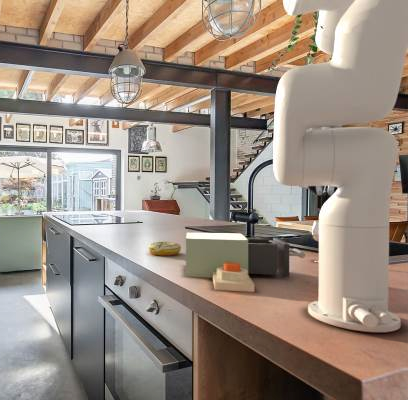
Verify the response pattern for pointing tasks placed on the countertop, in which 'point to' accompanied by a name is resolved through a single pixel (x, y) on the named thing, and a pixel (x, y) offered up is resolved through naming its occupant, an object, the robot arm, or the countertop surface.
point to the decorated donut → (164, 248)
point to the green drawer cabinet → (214, 252)
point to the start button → (232, 266)
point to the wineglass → (316, 233)
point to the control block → (232, 280)
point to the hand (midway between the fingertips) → (322, 211)
